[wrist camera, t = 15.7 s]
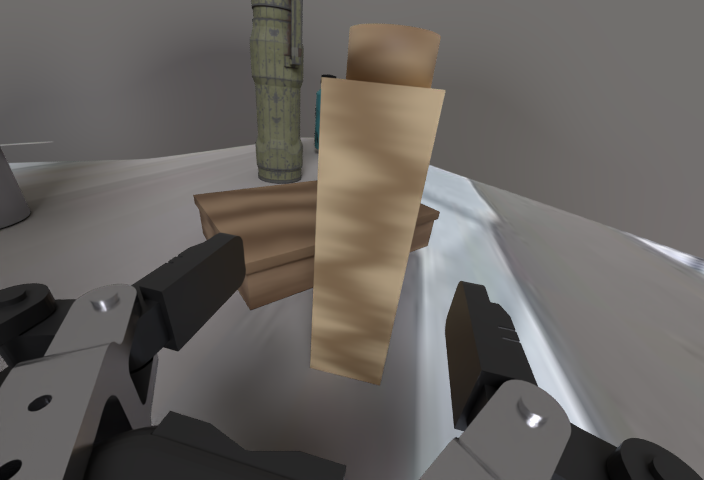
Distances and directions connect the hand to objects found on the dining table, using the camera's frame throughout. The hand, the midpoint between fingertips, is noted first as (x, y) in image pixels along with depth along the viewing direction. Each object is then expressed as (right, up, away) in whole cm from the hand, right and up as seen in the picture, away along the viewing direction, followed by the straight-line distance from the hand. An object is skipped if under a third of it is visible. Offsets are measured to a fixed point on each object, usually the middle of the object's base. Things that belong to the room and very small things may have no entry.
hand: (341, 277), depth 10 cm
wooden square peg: (0, -7, +12) cm, 14 cm away
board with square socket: (-4, +1, +26) cm, 27 cm away
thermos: (-15, +14, +49) cm, 53 cm away
